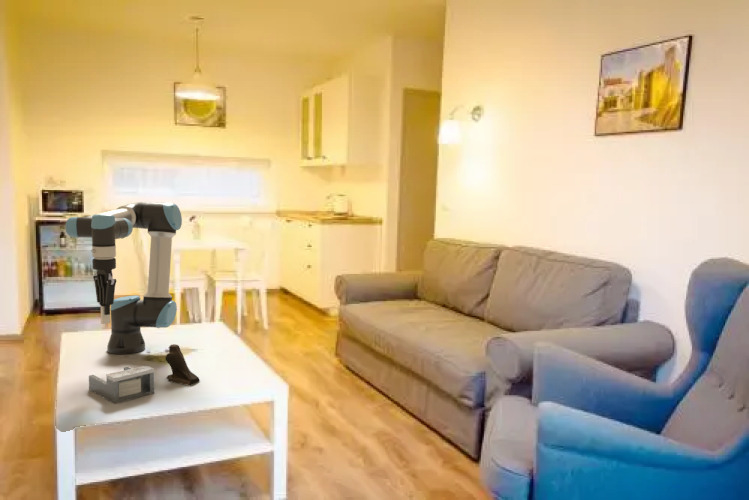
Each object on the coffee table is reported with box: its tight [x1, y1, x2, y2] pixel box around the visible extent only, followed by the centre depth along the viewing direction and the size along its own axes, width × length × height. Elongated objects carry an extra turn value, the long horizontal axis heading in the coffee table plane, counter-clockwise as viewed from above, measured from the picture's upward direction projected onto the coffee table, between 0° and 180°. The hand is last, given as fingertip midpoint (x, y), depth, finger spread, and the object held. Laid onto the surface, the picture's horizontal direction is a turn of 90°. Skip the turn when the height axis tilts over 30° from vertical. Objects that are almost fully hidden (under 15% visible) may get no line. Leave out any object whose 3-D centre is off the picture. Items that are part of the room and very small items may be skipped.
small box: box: [119, 376, 141, 397], centre depth 199 cm, size 8×8×5 cm
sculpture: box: [165, 343, 200, 386], centre depth 214 cm, size 6×13×13 cm, turn 66°
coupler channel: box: [88, 365, 155, 405], centre depth 202 cm, size 19×14×9 cm
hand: (105, 323), depth 207 cm, fingers closed
